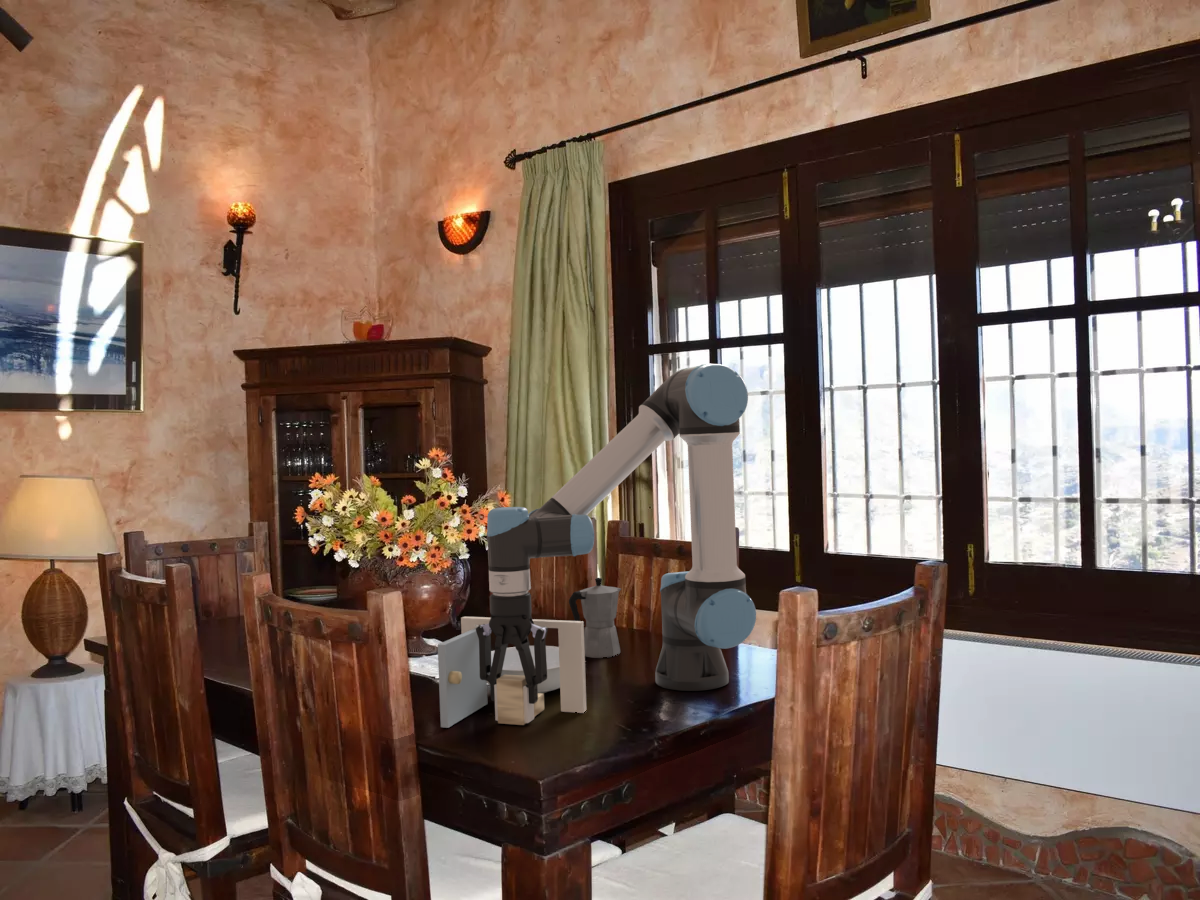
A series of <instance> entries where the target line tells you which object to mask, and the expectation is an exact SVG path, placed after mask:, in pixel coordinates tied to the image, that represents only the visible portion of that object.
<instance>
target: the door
mask: <svg viewBox="0 0 1200 900" xmlns="http://www.w3.org/2000/svg"><path fill="white" fill-rule="evenodd" d="M437 657H438V659H437V663H438V667H437V668H438V687H439V688H438V690H439V712H440V713H439V714H440V715H439V717H440V728H446V729H447V728H448V729H449V728H450V727H452V726H453V725H455V724H457V723H459V722H460V721H462V720H463V719H465V718H467V717H469V716H470V715H472V714H473V713H475V712H477V711H478V710H480V709H482V708H483V707H484V706H487V705H488V684H487V681H486V680H481V679H480V665H479V638H478V635H477V632H476V628H474V629H472V630H470V631H468V632H465V633H463V634H462V633H461V634H459V635H457V636H456V635H455V636H454V637H452V638H450V639H447V640H444V641H443V642H441V643H438V644H437Z"/></svg>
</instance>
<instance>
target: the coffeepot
mask: <svg viewBox="0 0 1200 900" xmlns="http://www.w3.org/2000/svg"><path fill="white" fill-rule="evenodd" d="M594 580H595V585H594V586H590V587H587V588H584V589H581V590H577V591H574V592H573V593H572V594H571V595H570V597H569V599H568V603H569V607H570V610H571V613H572V616H573V619H574V621H581V620H580V619H581V618H580V613H579V609H578V605H577V603H576V602H577V601H578V600H580V603H581V608H582V613H583V619H585V621H584V625H585V627H584V650H585V658H586V657H587V658H591V659H603V657H607V658H613V657H615V655H616V656H618V655H620V653H621V652H622V651H621V646H620V643H619V642H620V641H619V637H618V632H617V627H616V625H615V619H616V618H617V610H618V604H619V592H620V591H621V590H622V588H620V587H615V586H607V585H602V583H603V582H602V581H603V578H601V577H596V578H594ZM617 654H618V655H617ZM612 656H613V657H612Z"/></svg>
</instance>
